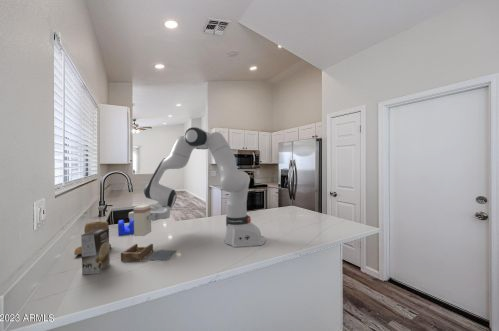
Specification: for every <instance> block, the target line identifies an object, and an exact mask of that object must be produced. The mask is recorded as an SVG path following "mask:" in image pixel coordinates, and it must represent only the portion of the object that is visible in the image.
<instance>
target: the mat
mask: <svg viewBox="0 0 499 331" xmlns="http://www.w3.org/2000/svg"><path fill="white" fill-rule="evenodd" d="M174 253H176V250H174V249H173V250H172V249H171V250H168V249H167V250H166V249H165V250H164V249H163V250H162V249H161V250H160V249H159V250H157V251H156V252H154V253H153V254H152V255H151V256H149V257H148V258H147V259H146V261H147V260H165V261H164V262H166V260H167V261H168V260H169V259H170V258H171V256H173V254H174Z"/></svg>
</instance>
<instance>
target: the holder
mask: <svg viewBox="0 0 499 331" xmlns="http://www.w3.org/2000/svg"><path fill="white" fill-rule="evenodd" d="M153 244H154V243H150V244H149V245H147V246H139V245H138V243H135V244H133V245H132V246H130V247H129V248H127V249H125V250H124V251H122V252H121V253H120V261H121V262H141V261H142V260H143V259H145V258H146V257H147V256H148V255H150V254H151V253H152V252H153V251H154V245H153ZM136 251H137V252H136ZM138 251H140V252H138ZM151 251H152V252H151ZM150 252H151V253H150ZM149 253H150V254H149ZM145 256H146V257H145ZM144 257H145V258H144ZM140 260H141V261H140Z"/></svg>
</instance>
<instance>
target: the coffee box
mask: <svg viewBox="0 0 499 331" xmlns="http://www.w3.org/2000/svg"><path fill="white" fill-rule="evenodd" d="M109 230H110V228H104V229H94V230H92V231H89V232H87V233H85V232H84V233H82V234H81V235H80V236H81V237H80V238H81V241H80V242H81V246H82V254H81V275H82V276H83V275H97V274H99V273H101V272H102V271H103V270H104V269H105V268H107V267H108V266H109V265H110V264H111V263H110V262H111V261H110V260H111V259H110V248H109V244H110V231H109Z"/></svg>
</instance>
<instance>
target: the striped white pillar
mask: <svg viewBox="0 0 499 331" xmlns="http://www.w3.org/2000/svg"><path fill="white" fill-rule="evenodd" d="M151 205H152V204H140V205H137V206H134V207H133V211H134V234H133V235H134V237H146V236H147V235H149V234H150V233H151V232H152V220H151V219H150V220H147V216H150V215H151Z"/></svg>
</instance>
